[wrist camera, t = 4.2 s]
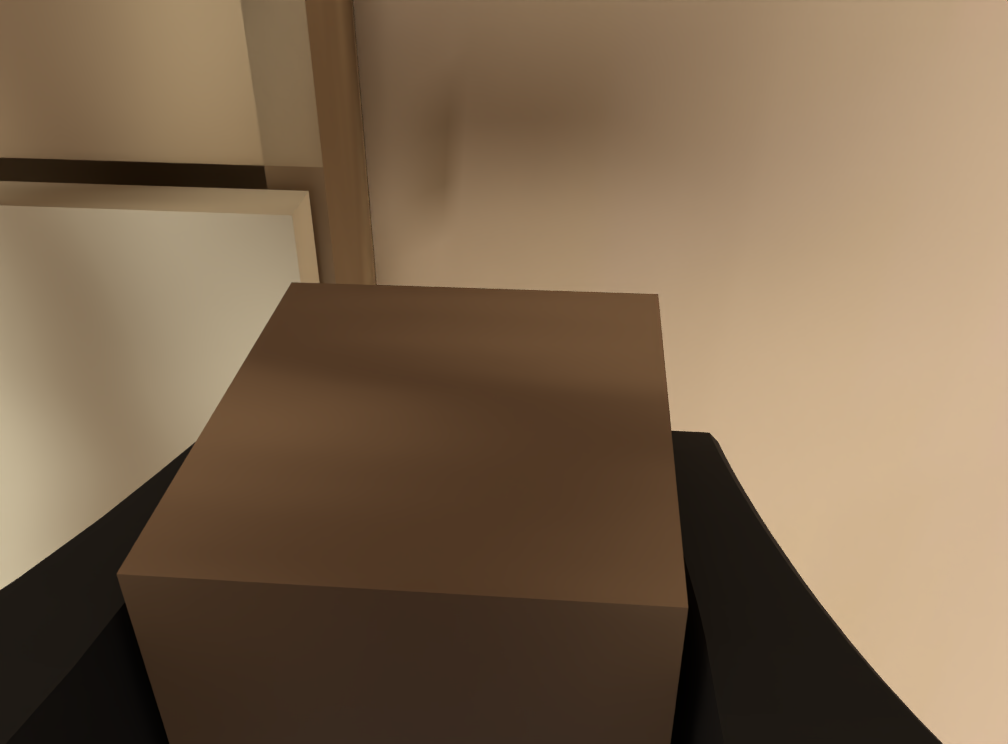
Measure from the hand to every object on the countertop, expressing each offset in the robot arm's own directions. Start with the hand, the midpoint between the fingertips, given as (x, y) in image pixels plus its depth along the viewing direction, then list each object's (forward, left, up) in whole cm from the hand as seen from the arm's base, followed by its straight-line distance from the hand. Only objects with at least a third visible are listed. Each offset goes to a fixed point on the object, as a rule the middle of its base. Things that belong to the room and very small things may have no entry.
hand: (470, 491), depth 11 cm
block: (0, 0, -1) cm, 1 cm away
